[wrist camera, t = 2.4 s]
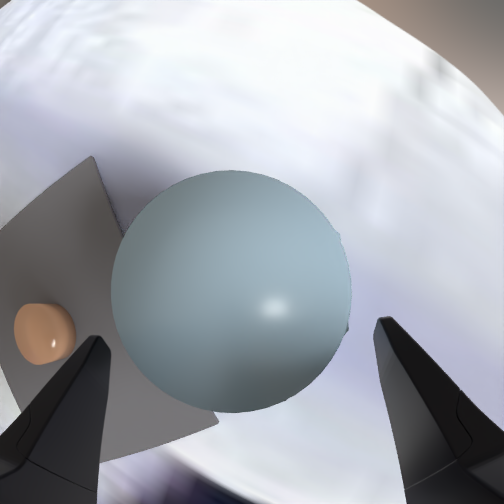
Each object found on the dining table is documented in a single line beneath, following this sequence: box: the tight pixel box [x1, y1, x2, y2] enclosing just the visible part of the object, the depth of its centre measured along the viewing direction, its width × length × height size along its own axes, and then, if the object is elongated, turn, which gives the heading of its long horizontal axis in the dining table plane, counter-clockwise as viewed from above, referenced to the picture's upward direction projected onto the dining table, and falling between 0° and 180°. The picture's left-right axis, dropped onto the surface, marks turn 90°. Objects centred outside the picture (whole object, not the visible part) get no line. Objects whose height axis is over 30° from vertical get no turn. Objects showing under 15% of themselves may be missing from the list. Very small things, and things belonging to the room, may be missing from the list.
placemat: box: [0, 156, 219, 463], centre depth 19 cm, size 20×16×1 cm
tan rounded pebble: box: [14, 303, 76, 365], centre depth 18 cm, size 4×4×2 cm
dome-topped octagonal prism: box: [111, 170, 352, 413], centre depth 14 cm, size 7×7×10 cm
